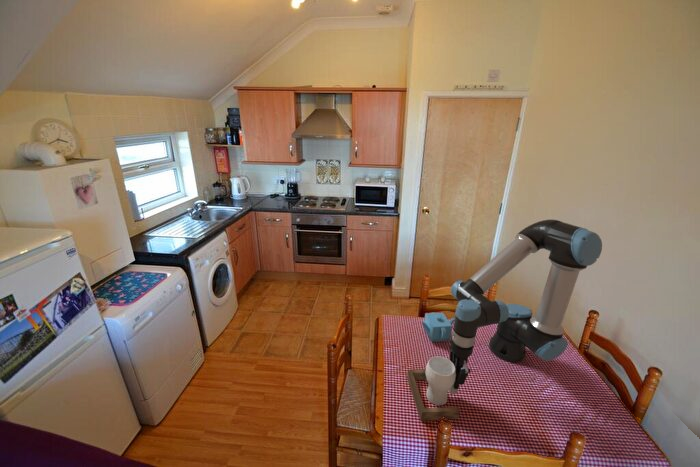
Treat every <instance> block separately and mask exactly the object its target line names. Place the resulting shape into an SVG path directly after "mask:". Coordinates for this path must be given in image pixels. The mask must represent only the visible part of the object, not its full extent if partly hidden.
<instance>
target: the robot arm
mask: <svg viewBox="0 0 700 467" xmlns="http://www.w3.org/2000/svg"><path fill="white" fill-rule="evenodd" d="M514 238H515V239H514V240H513V241H511V242H510V243H509V244H508V245H506V246H505V247H504V248H503V249H502V250H501V251H500V252H498V254H496V255H495V256H494V257H493V258H492V259H490V261H488V262H487V263H486V264H485V265H484V266H482V267H481V268H480V269H479V270H477V271H476V272H475V273H474V274H473V275H472V276H471V277H470V278H468V279H467V280H465V281H464V280H462V279H461V280H458V281H457V280H456V281H455V282H454V283H453V284H452V285H451V288H450V293H451V295H452V297H454V298H455V299H456V300H457V302H458V303H457V305H456V309H455V313H454V314H455V315H454V318H455V321H454V322H453V326H452V329H453V330H452V333H451V338H450V345H449V348H448V349H449V358H448V359H449V360H450V361H451V362H452V363H453V364H454V366H455V370H456V378H455V382H454V384H453V385H452V387H451V388H450V389H449V390H448V391H449V394H450V395H455V394H458V393H459V392H458V391H459V388H460V385H461V386H462V385H465V382H466V380H467V377H468V375H469V374H471V371H472V370H471V369H470V368H469V367H468V364H469V363H468V361H469V357H471V356H472V354H473V353H474V352H473V351H474V346H475V343H476V337H477V331H478V329H479V328H482V327H483V328H484V327H486V326H493V325H497V327H496V330H495V331H496V332H494V334H493V335H492V336H491V338H490V339H489V343H488V348H489V350H490V351H491V353H493V355H495V356H496V357H498V358H499V359H501V360H504V361H506V362H510V363H520V362H522V361H524V360H525V358H526V355H527V351H526V348H527V349H528V350H529V351H531V352H532V353H533V354H534V355H535V356H537V357H538V358H540V359H541V360H543V361H546V362H550V361H553V360H555V359H557V358H559V357H560V356H561V355H562V354H564V352H565V351H566V349H568V348H567V347H568V345H569V344H568V343H569V342H568V340H567V339H566V338H565V337H563V335H564V334H565V329H564V327H563V326H562V324H563V321H564V318H565V315H566V312H567V309H568V306H569V304H570V301H571V298H572V294H573V291H574V288H575V286H576V284H577V283H576V282H577V281H578V277H579V275H580V271H583V270H586V269H587V267H589V266H590V267H591V266H592V265H593V264H595V263H596V262H597V259H599V258H600V256H601V253H602V250H603V242H602V239H601V237H600V235H599V234H598V233H596V232H594V231H591V230H589V229H588V228H584V227H582V226H577V225H574V224H570V223H567V222H563V221H561V220H557V219H544V220H540V221H537V222H535V223H532V224H530V225H527V227H525V228H523V229H521V230H520V231H519V232H517V234H515V237H514ZM541 249H542V250H543V249H544V250H546V251H549V255H548V260H549V261H550V263H551V265H550V269H549V272H548V276H547V278H546V281H545V285H544V288H543V291H542V296H541V299H540V302H539V305H538V308H537V310H536V315H535V316H533V311H532V309H531V308H530V307H527V306H525V305H523V304H519V303H505V302H503V301H501V300H490V298H488V297H486V296H485V295H484V294H485V293H486V292H487V291H489V289H491V288H492V287H493V286H495V285H496V283H497V282H499V281H500V280H501V279H502V278H504V277H505V276H506V275H508V273H509V272H511V271H512V270H513V269H514V268H516V267H517V265H519V264H520V263H521V262H522V261H524V260H525V259H526V258H527V257H528V256H529V255H530V254H535V253H537V252H538V251H539V250H541Z"/></svg>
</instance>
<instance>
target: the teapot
mask: <svg viewBox="0 0 700 467" xmlns="http://www.w3.org/2000/svg"><path fill="white" fill-rule="evenodd" d="M454 321H455V317H452V318H451V319H450V320H449V319H448V318H447V316H446V315H445V314H444V312H431V313H425V314H424V321H421V323H420V324H422V326H423V328H424V331H425V333H426V334H427V336H428V338H429V340H430V342H433V343H434V342H446V341H447V342H451V337H452V332H453V330H452V329H453V325H454Z"/></svg>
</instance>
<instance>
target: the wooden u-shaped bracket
mask: <svg viewBox="0 0 700 467" xmlns="http://www.w3.org/2000/svg"><path fill="white" fill-rule="evenodd" d="M425 372H426V368H425V369H424V368H423V369H408V370H407V373H406V379H407V383H408V385H409V388H410V392H411V395H412V399H413V401H414V405H415V406H416V407H415V408H416V411H417V414H418V416H419V419H420V421H421V422H425V421H440V420H439V419H440V418H443V417H444V418H447V419H449V420H458V419H459V417H460V412H461V410H460V408H459V407H458V406H448V407H447V406H446V407H445V406H444V407H428V408H425V405H424V402H423V399H422V396H421V393H420V390H419V388H418V384H417V382H416V381H427V378H426V373H425Z"/></svg>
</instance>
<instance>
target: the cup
mask: <svg viewBox="0 0 700 467" xmlns="http://www.w3.org/2000/svg"><path fill="white" fill-rule="evenodd" d="M425 369H426V372H425V373H426V378H427V380H426V382H427V383H428V386H427V390H426V394H425V395H426V399H427V400H428V401H429V402H430V403H431V404H433V405H434V406H435V405H436V406H444V405H445V404H447V402H448V391H449V389H450V388H451V387H452V385H453V384H454V382H455V378H456V370H455V366H454V364H453V363H452V362H451V361H450V360H449V358H447V357H445V356H438V355H436V356H432V357H430V358H429V360H428V361H427V364H426V366H425Z"/></svg>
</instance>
